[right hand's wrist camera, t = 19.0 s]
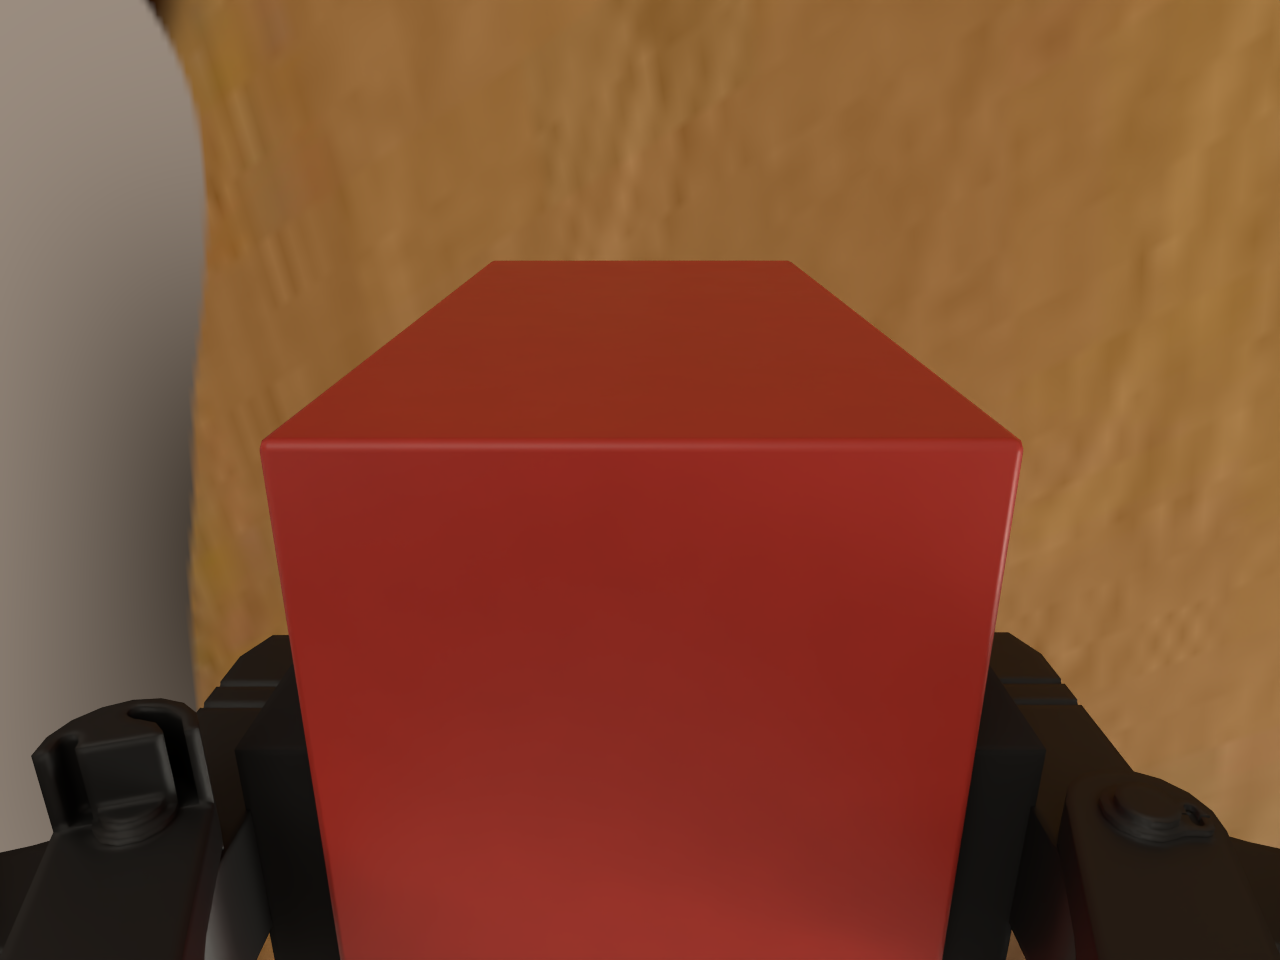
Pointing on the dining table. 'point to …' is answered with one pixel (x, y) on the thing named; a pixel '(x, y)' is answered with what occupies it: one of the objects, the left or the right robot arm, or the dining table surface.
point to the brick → (641, 621)
